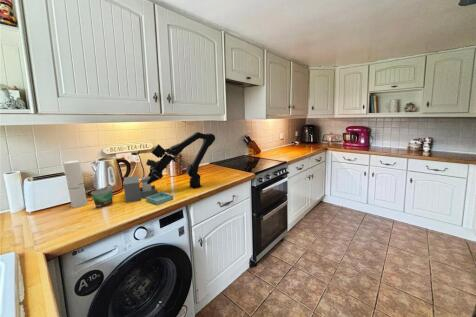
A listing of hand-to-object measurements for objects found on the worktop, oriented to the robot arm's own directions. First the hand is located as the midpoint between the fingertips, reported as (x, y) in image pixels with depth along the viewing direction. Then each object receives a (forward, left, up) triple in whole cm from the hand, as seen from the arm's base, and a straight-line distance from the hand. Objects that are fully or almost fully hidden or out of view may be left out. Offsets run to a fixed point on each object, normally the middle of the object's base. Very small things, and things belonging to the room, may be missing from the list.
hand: (147, 181), depth 135 cm
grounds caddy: (0, 0, -8) cm, 8 cm away
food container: (+22, -2, -9) cm, 24 cm away
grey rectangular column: (+33, -14, -9) cm, 37 cm away
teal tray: (-1, +15, -8) cm, 17 cm away
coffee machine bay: (+4, -1, -8) cm, 9 cm away
